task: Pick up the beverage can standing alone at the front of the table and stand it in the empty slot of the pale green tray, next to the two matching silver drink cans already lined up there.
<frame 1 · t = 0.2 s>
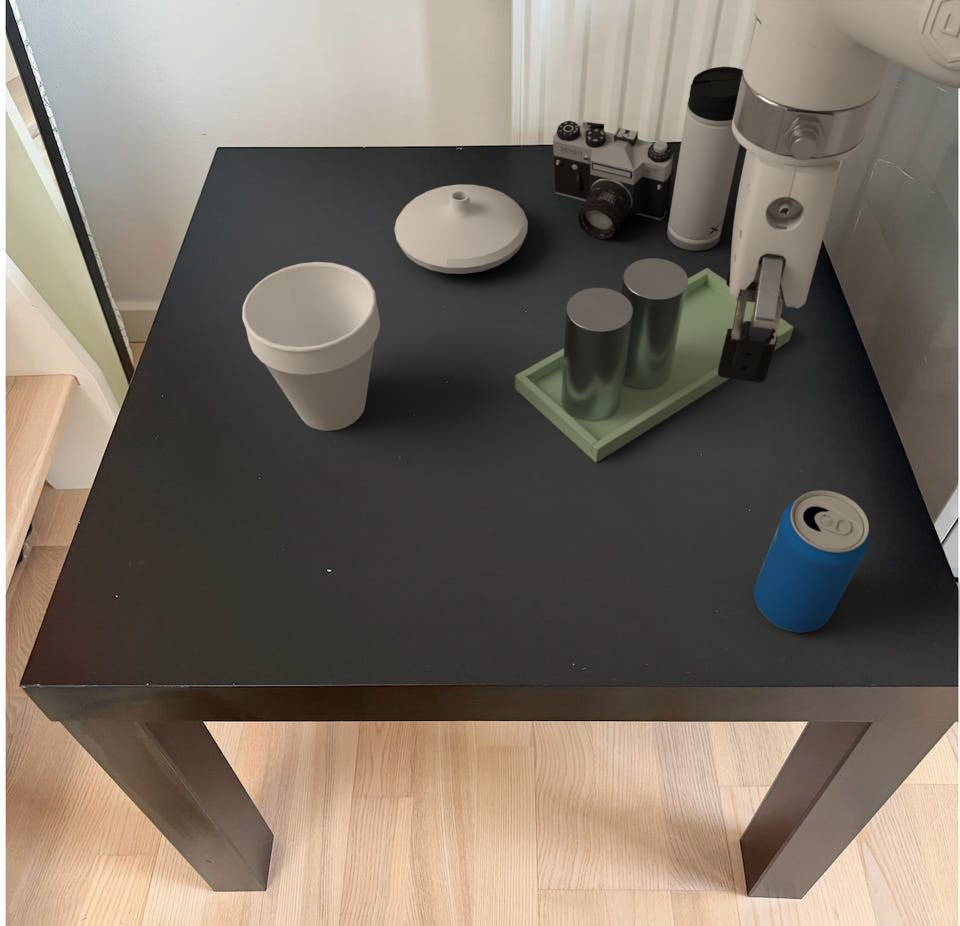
hand: (744, 330, 66), 23 cm above the table, tool pointing down, fingers open, 9 cm apart
tray: (654, 364, 95), on the table
beverage can: (790, 604, 77), on the table
camera: (601, 217, 112), on the table
can b: (590, 399, 92), resting on tray
vase: (462, 247, 109), on the table
travel mug: (694, 237, 109), on the table
white flower pot: (332, 407, 93), on the table
can a: (641, 369, 94), resting on tray
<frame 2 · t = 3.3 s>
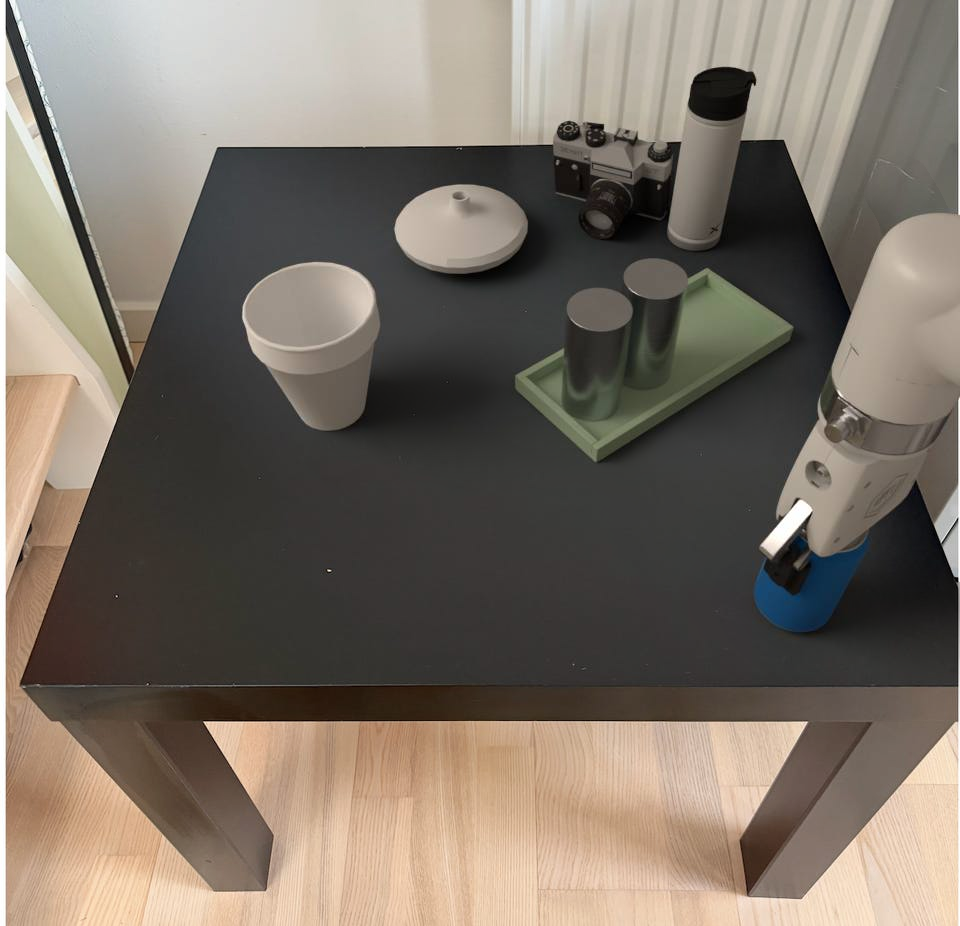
hand: (812, 556, 71), 7 cm above the table, tool pointing down, fingers closed on beverage can, 6 cm apart
beverage can: (790, 603, 77), on the table, touching gripper
everything else where it was.
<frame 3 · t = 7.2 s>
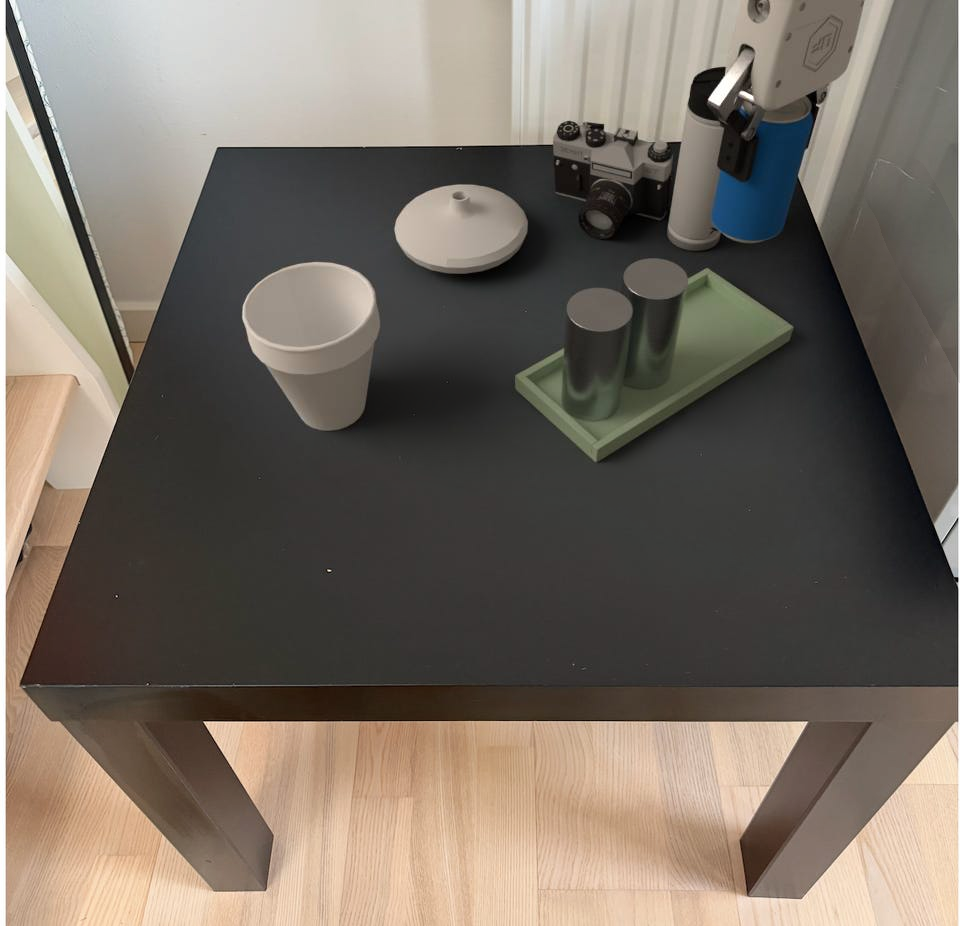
hand: (762, 157, 77), 24 cm above the table, tool pointing down, fingers closed on beverage can, 6 cm apart
beverage can: (745, 228, 83), point 17 cm above the table, touching gripper
everything else where it was.
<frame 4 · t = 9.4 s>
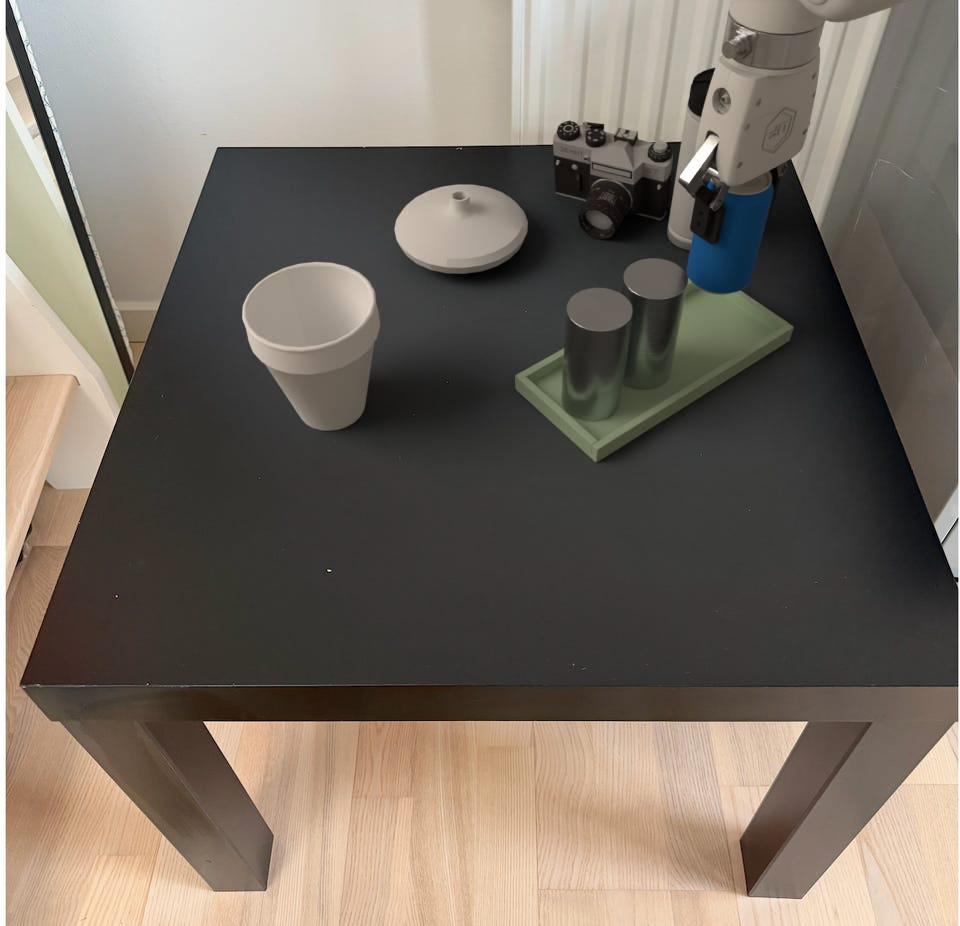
hand: (730, 221, 87), 15 cm above the table, tool pointing down, fingers closed on beverage can, 6 cm apart
beverage can: (717, 280, 92), point 7 cm above the table, touching gripper
everything else where it was.
when the fingers open (8 cm above the table, at t = 11.5 s): beverage can stays where it is, resting on tray.
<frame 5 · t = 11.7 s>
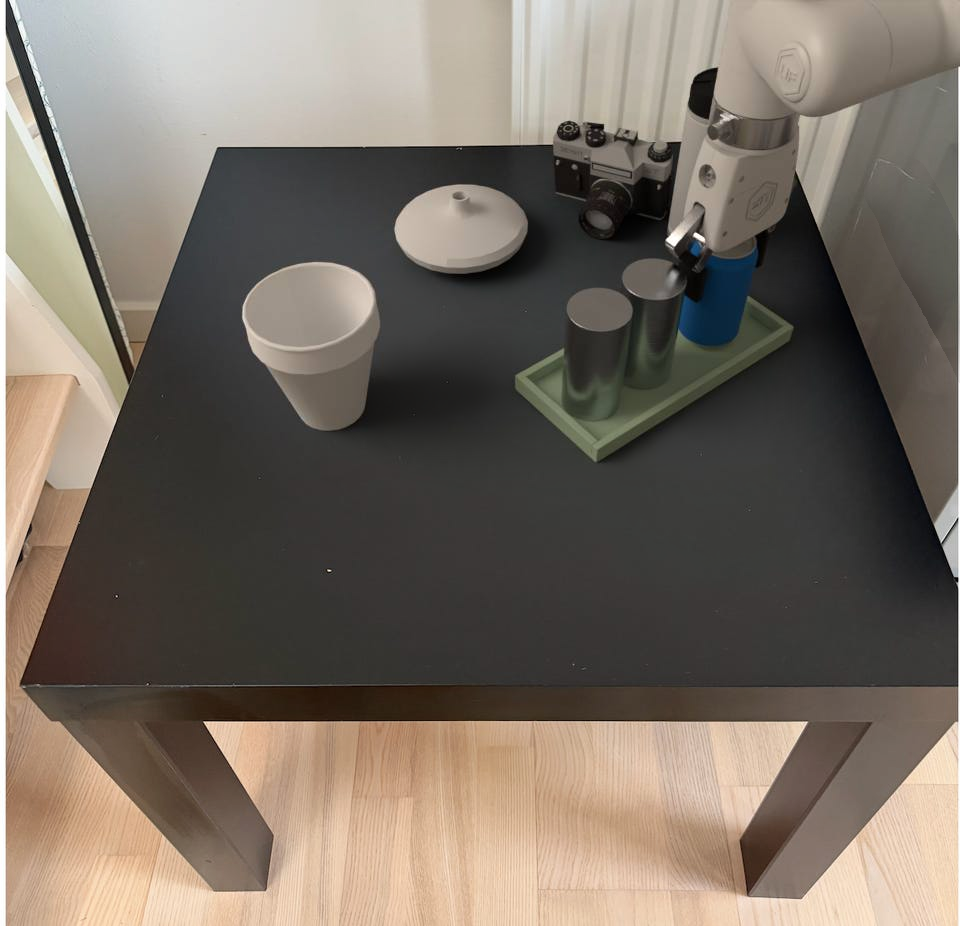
hand: (718, 276, 92), 8 cm above the table, tool pointing down, fingers open, 8 cm apart
beverage can: (706, 332, 98), resting on tray
can a: (641, 369, 94), point 1 cm above the table, touching gripper, tray
everything else where it was.
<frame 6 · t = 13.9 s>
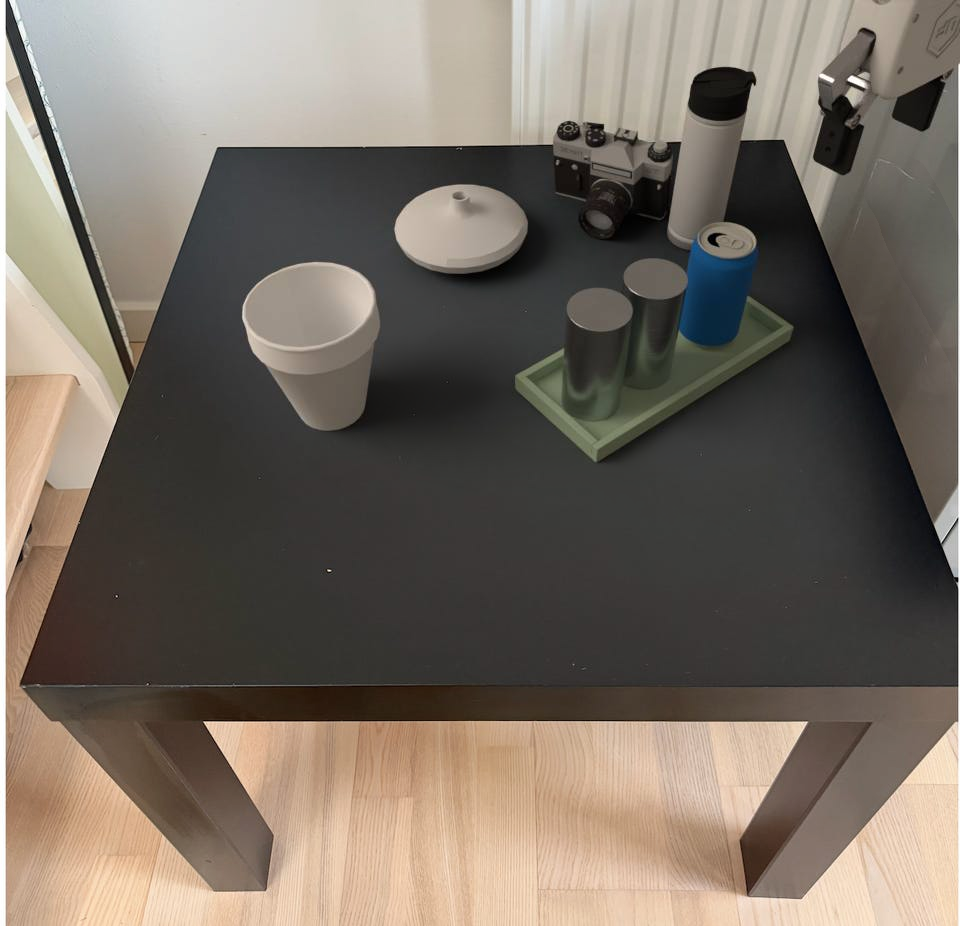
hand: (870, 145, 72), 27 cm above the table, tool pointing down, fingers open, 9 cm apart
can a: (641, 369, 94), resting on tray
everything else where it was.
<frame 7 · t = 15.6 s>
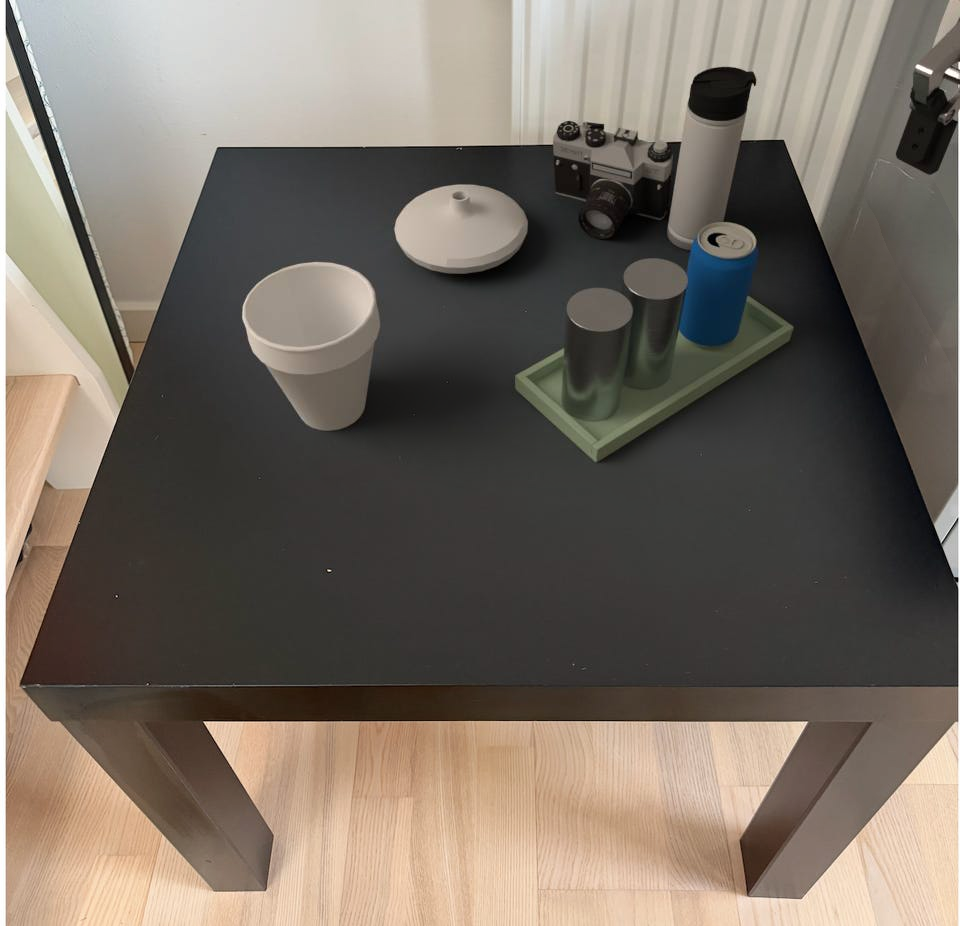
hand: (957, 141, 66), 30 cm above the table, tool pointing down, fingers open, 9 cm apart
nothing on the table moved.
at the end: beverage can inside the target area in the tray (0.1 cm from its centre), point 0.3 cm above the tray's base; beverage can tilted 0°; the gripper is holding nothing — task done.
